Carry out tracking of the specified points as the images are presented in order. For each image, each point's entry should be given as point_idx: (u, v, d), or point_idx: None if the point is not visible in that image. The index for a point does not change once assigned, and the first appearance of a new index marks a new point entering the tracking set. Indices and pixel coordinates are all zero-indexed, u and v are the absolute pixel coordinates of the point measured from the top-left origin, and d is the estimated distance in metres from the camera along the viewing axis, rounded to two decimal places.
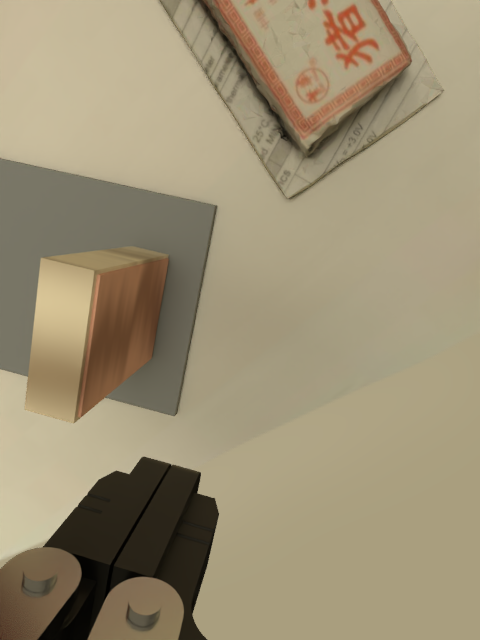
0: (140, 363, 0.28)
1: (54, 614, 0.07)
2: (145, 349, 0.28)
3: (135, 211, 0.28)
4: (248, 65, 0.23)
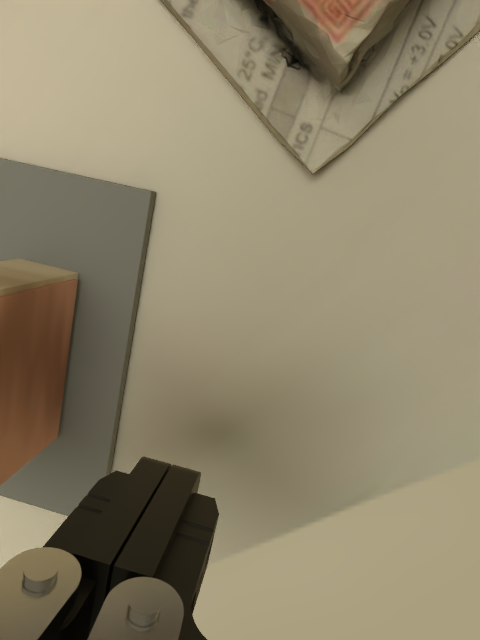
0: (27, 456, 0.17)
1: (54, 614, 0.07)
2: (37, 431, 0.17)
3: (22, 201, 0.17)
4: None
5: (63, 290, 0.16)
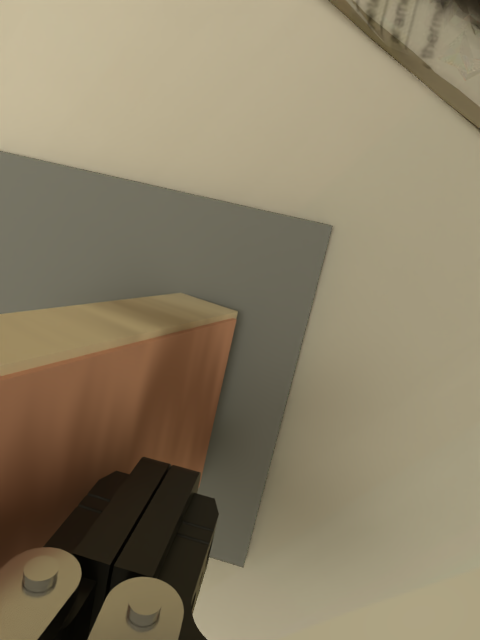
0: None
1: (54, 614, 0.07)
2: None
3: (188, 233, 0.16)
4: None
5: (221, 330, 0.15)
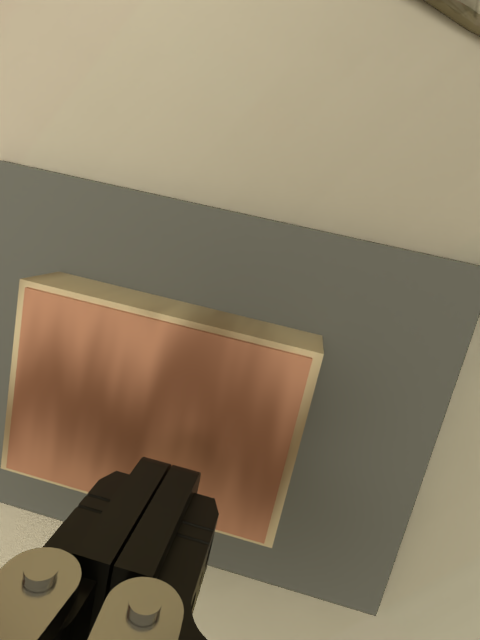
0: None
1: (54, 614, 0.07)
2: (223, 502, 0.15)
3: (336, 276, 0.16)
4: None
5: (279, 359, 0.14)
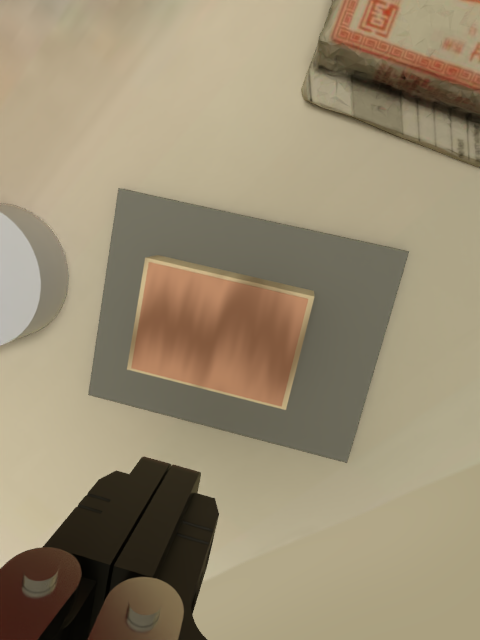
0: (248, 393, 0.27)
1: (54, 614, 0.07)
2: (259, 383, 0.27)
3: (321, 256, 0.28)
4: None
5: (290, 300, 0.26)
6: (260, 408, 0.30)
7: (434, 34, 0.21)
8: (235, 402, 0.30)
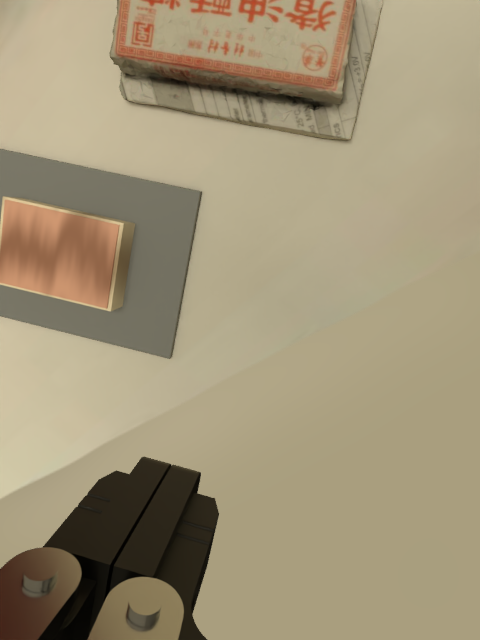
0: (82, 298, 0.36)
1: (54, 614, 0.07)
2: (89, 290, 0.36)
3: (138, 196, 0.37)
4: (266, 85, 0.31)
5: (106, 225, 0.35)
6: (103, 317, 0.39)
7: (181, 39, 0.31)
8: (85, 313, 0.39)
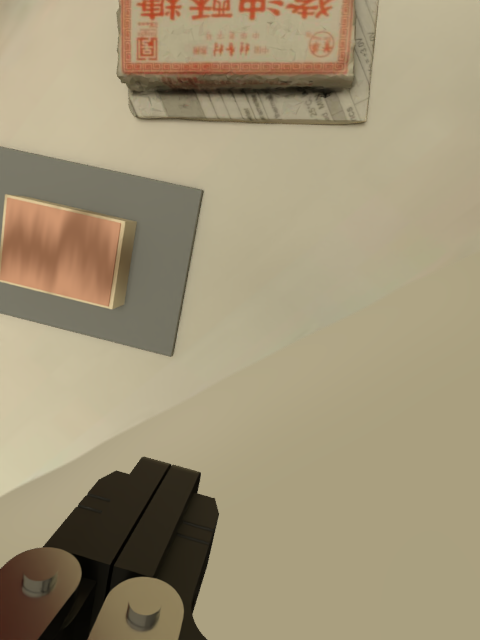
0: (84, 296, 0.37)
1: (54, 614, 0.07)
2: (91, 288, 0.36)
3: (140, 194, 0.37)
4: (276, 80, 0.31)
5: (108, 224, 0.35)
6: (105, 315, 0.39)
7: (186, 47, 0.31)
8: (86, 311, 0.40)
